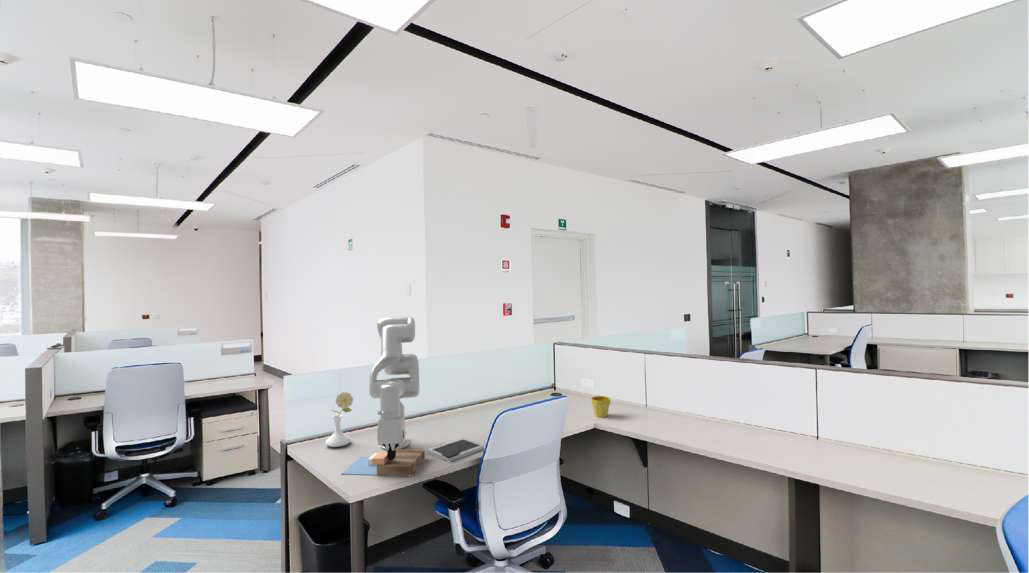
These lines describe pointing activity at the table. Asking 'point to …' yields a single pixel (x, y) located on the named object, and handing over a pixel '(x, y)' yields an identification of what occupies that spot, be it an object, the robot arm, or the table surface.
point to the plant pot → (600, 405)
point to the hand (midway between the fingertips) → (391, 459)
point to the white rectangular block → (371, 459)
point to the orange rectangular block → (380, 458)
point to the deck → (402, 463)
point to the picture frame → (456, 449)
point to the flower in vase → (338, 436)
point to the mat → (361, 468)
